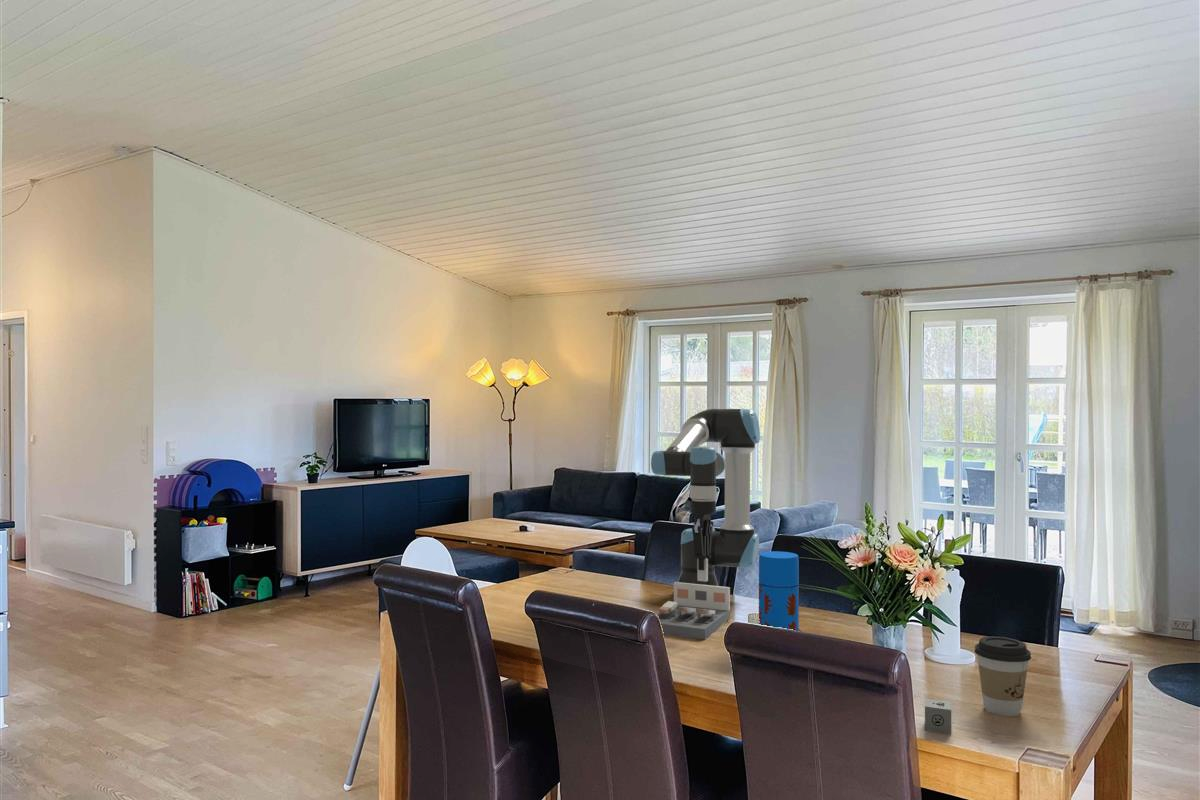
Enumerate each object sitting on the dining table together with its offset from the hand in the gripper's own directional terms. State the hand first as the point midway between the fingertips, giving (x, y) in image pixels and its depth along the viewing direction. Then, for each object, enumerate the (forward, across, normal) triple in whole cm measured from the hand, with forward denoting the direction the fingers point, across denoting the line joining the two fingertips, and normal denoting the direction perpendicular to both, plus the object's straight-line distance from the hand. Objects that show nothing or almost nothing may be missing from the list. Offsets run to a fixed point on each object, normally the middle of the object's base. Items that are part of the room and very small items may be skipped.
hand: (702, 580), depth 247 cm
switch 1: (+10, -3, -12) cm, 16 cm away
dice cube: (+16, +47, +67) cm, 83 cm away
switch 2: (+10, -3, -6) cm, 12 cm away
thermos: (+15, +2, +23) cm, 28 cm away
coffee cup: (+16, +30, +79) cm, 86 cm away
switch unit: (+15, -6, -6) cm, 17 cm away
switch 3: (+10, -3, 0) cm, 10 cm away
